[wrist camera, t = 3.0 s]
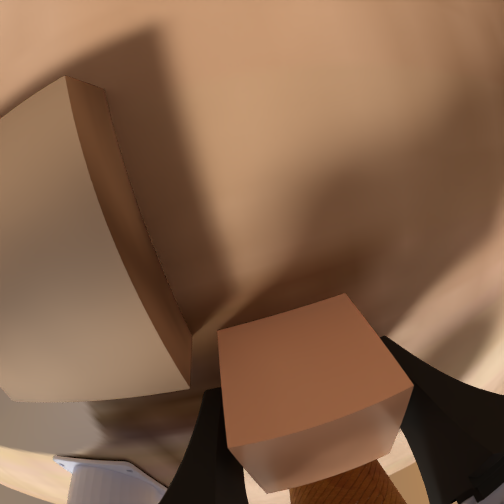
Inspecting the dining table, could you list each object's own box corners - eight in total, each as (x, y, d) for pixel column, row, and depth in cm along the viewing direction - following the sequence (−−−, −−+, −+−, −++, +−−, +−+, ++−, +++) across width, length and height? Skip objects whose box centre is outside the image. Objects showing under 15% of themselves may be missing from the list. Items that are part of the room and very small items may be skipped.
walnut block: (192, 329, 11) (190, 388, 8) (34, 359, 10) (13, 401, 8) (108, 91, 7) (65, 75, 4) (-47, 194, 7) (-89, 216, 4)
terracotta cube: (347, 372, 13) (389, 453, 8) (249, 403, 12) (266, 493, 8) (344, 291, 10) (413, 385, 6) (217, 329, 10) (227, 448, 6)
